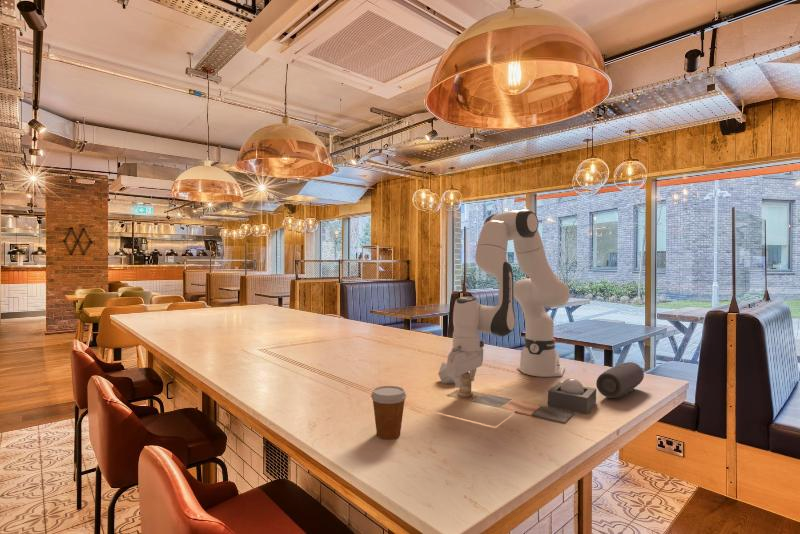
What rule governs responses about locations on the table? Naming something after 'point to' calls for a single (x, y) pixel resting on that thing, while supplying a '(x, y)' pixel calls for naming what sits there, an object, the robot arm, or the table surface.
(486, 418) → the table surface
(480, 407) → the table surface
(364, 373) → the table surface
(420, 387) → the table surface
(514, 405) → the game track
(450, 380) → the die
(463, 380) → the tan rounded peg
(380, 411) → the disposable coffee cup
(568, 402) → the housing
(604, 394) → the bluetooth speaker
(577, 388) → the pale grey ball
